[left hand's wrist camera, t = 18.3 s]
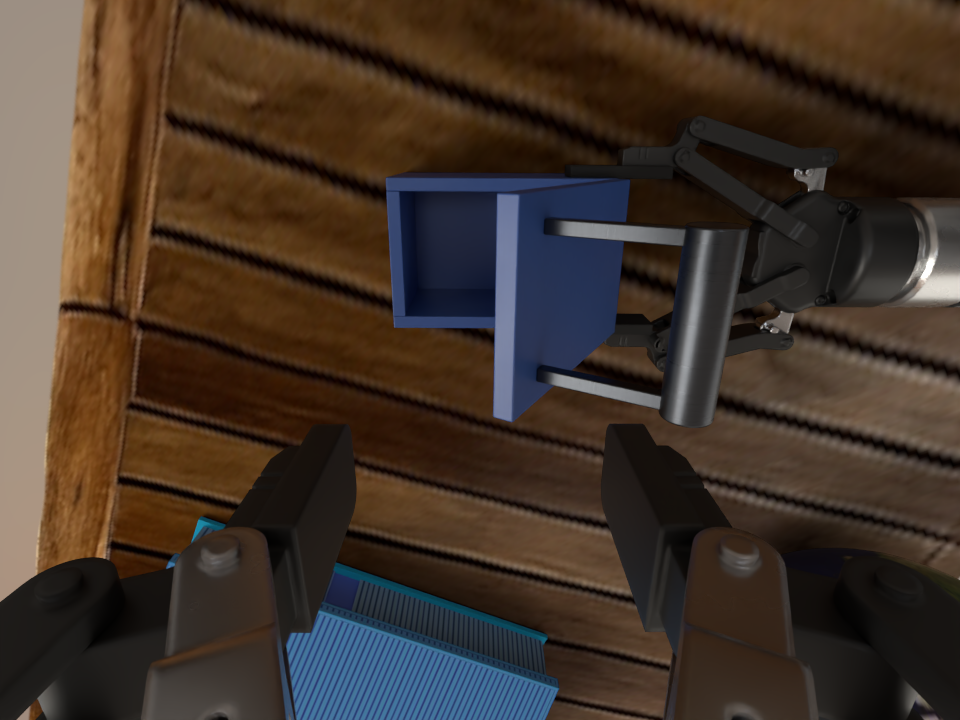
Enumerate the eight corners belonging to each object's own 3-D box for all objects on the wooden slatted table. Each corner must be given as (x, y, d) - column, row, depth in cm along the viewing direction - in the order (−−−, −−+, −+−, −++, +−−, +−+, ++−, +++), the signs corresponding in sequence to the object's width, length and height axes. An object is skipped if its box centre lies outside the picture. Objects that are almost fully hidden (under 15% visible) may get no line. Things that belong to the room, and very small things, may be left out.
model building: (152, 671, 61) (92, 765, 52) (202, 512, 53) (142, 589, 43) (462, 762, 67) (459, 861, 58) (550, 632, 59) (564, 722, 49)
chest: (409, 295, 45) (393, 327, 37) (403, 172, 41) (385, 177, 33) (582, 296, 45) (605, 328, 37) (591, 173, 41) (620, 178, 33)
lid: (492, 417, 24) (697, 474, 20) (496, 192, 21) (746, 204, 16) (600, 330, 36) (741, 354, 32) (614, 178, 33) (776, 183, 28)
